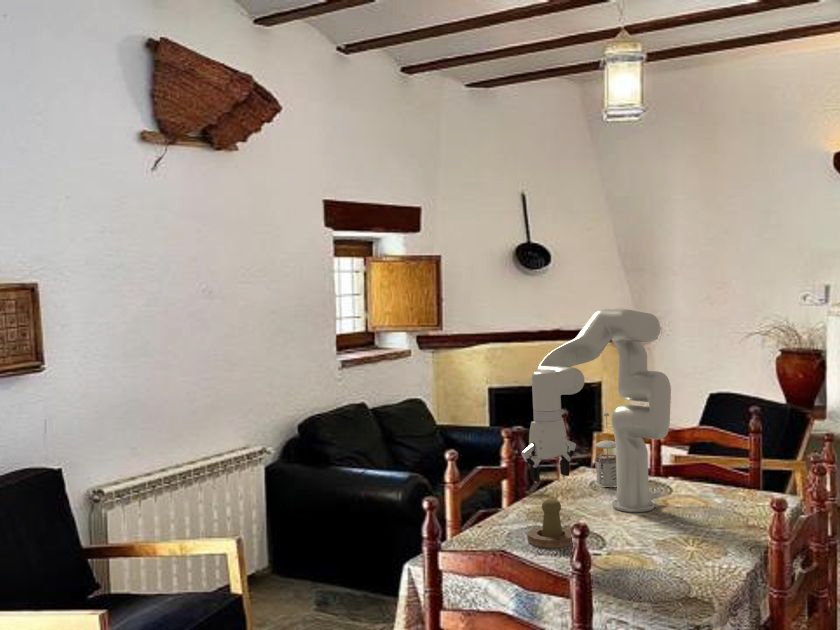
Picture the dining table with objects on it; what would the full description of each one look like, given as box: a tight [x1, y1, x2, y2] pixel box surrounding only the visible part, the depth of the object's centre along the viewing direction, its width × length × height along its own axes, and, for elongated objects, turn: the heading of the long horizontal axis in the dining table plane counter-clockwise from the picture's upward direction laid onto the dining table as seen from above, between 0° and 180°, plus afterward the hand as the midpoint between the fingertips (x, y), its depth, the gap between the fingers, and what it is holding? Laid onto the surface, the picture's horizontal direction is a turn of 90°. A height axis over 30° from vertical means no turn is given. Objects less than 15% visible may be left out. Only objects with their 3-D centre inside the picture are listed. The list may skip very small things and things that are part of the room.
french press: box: [594, 412, 617, 487], centre depth 282 cm, size 10×12×25 cm
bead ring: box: [526, 525, 573, 549], centre depth 225 cm, size 13×13×2 cm
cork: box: [541, 498, 563, 537], centre depth 225 cm, size 6×6×11 cm
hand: (550, 477), depth 224 cm, fingers open, 9 cm apart
